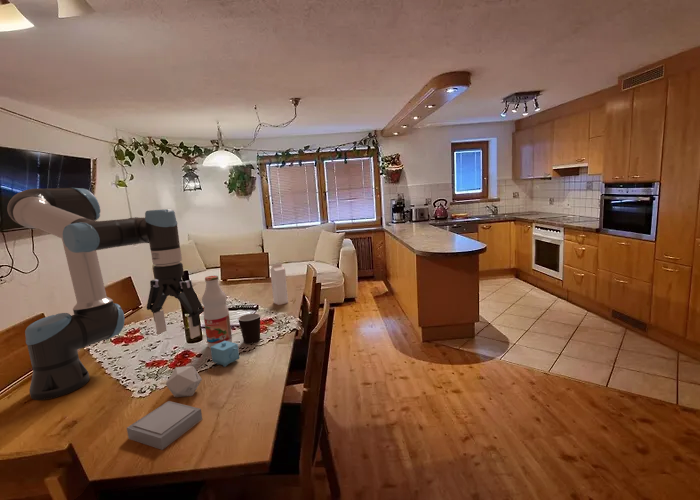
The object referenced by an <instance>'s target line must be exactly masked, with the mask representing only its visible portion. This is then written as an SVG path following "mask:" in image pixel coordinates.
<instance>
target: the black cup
mask: <svg viewBox="0 0 700 500" xmlns="http://www.w3.org/2000/svg"><path fill="white" fill-rule="evenodd" d="M237 321H238V323H239V324H238V325H239V328H240V331H241V334H242V335H241V336H242V340H243V343H244V344H247V345H252V344H255V343H256V344H257V343H258V342H260V340H261V314H259V313H247V314H243V315H240V316H239V317H238V319H237Z"/></svg>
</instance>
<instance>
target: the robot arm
mask: <svg viewBox="0 0 700 500" xmlns="http://www.w3.org/2000/svg"><path fill="white" fill-rule="evenodd" d="M7 214H8V217H10V219H11V220H12V221H13V222H15V223H16V224H18V225H20V226H22V227H25V228H27V229H38V230H41V231H44V232H45V233H48V234H50V235H53V236H54V237H57V238H60V239H61V240H62V245H63V250H64V254H65V257H66V263H67V266H68V270H69V275H70V277H71V283H72V287H73V291H74V295H75V300H76V304H75V305H74V306H73V308H72V311H73V314H72V315H71V314H70V313H69V312H61V313H56V314H52V315H48V316H46V317H45V316H44V317H43V318H40V319H38V320H36V321H34V322H32V323H30V324H29V325H28V326H27V327H26V329H25V331H24V334H25V335H24V336H25V344H26V346H27V349H28V350H27V351H28V354H29V359H30V363H31V368H32V376H31V381H30V385H29V396H30V398H31V399H32V400H34V401H45V400H50V399H55V398H59V397H62V396H65V395H68V394H71V393H73V392H75V391H77V390H79V389H81V388H82V387H84V386H85V385H86V384H87V383H89V382H90V374H89V373H90V372H89V371H88V370H87V368H86V367H85V365H84V364H83V362H82V361H81V359H80V356H79V352H78V351H79V350H81V349H83V348H86V347H88V346H91V345H95V344H97V343H100V342H102V341H107V340H109V339H111V338H113V337H116V336H118V335H119V334H120V333H121V332H122V331H123V330H124V326H125V313H124V311H123V309H122V307H121V305H120V304H118V303H114V300H113V299H112V298H111V297H108V296H107V291H106V287H105V283H104V278H103V274H102V270H101V266H100V261H99V256H98V252H97V251H100V250H101V251H102V250H106V249H114V248H119V247H127V246H133V245H140V244H149V249H150V253H151V261H152V265H154V266H153V267H152V270H153V275H154V279H152V280H150V282H149V284H150V289H149V293H148V297H147V298H148V299H147V304H146V310H147V311H149V310H150V311H151V312H152V314H153V321H154V324H155V330H156V334H157V335H161V334H162V333H165V332H167V325H166V324H167V323H166V317H165V312H164V311H165V310H164V307H163V306H164V304H165V302H166V300H167V298H168V296H170V297H174V298H175V299H177V301H179V303H180V305H182V307H183V308H184V310H185V311H186V313H188V316H187V324H188V329H189V330H188V331H189V336H190V339H194V338H197V337H199V336H201V330H200V316H199V314H201V313H203V311H204V306H203V304H202V303H201V301H200V299H199V297H198V295H197V293H196V291H195V290H194V286H193V282H192V280H191V279H188V280H185V281H184V280H183V279H182V277H183V276H184V274H185V272H184V266H183V263H182V261H183V257H182V250H181V245H180V236H179V229H178V221H177V218H176V213H175V210H173V209H171V208H167V209H165V208H164V209H149V210H146V211H145V213H144V217H137V216H136V217H135V216H134V217H129V218H128V217H127V218H120V219H109V220H99V219H100V217H101V206H100V204H99V201H98V199H97V197H96V196H95V195H94V194H93V193H92V192H91V191H90V190H89V189H87V188H83V187H82V188H78V187H56V188H50V187H49V188H29V189H25V190H22V191H20V192H18V193H16V194H14V195H13V196H12V197H11V199H10V200H9V201H8V203H7Z"/></svg>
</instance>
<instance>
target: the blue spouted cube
mask: <svg viewBox="0 0 700 500" xmlns="http://www.w3.org/2000/svg"><path fill="white" fill-rule="evenodd" d="M238 344H239V343H235V342H233V341H232V342H229V341H223V342H221V343H218V344H216V345H214V346H212V347H211V348H210V353H211V354H210V355H211V362H213V363H216V365H222V367H224V368H225V367H227V366H228V365H230V364H232V363H235V362H236V361H238V360H239V359H240V352H239V351H240V350H239V345H238Z"/></svg>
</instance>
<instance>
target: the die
mask: <svg viewBox="0 0 700 500" xmlns="http://www.w3.org/2000/svg"><path fill="white" fill-rule="evenodd" d="M202 380H203V379H202V377H201V376H200V374H199V373H198V371H197V369H196V368H195V367H194V365H193V366H192V365H190V366H178V367H177V366H175V368H174V369H173V371H172V373H171V374H170V376H169V377H168V379H167V380H166V382H165V386H166V387H167V389H168V390H169V391H170V393H171V394H172V395H173V397H174V398H185V397H193V396H194V394H195V393H196V390H197V389H198V387H199V386H200V384H201V382H202Z"/></svg>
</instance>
